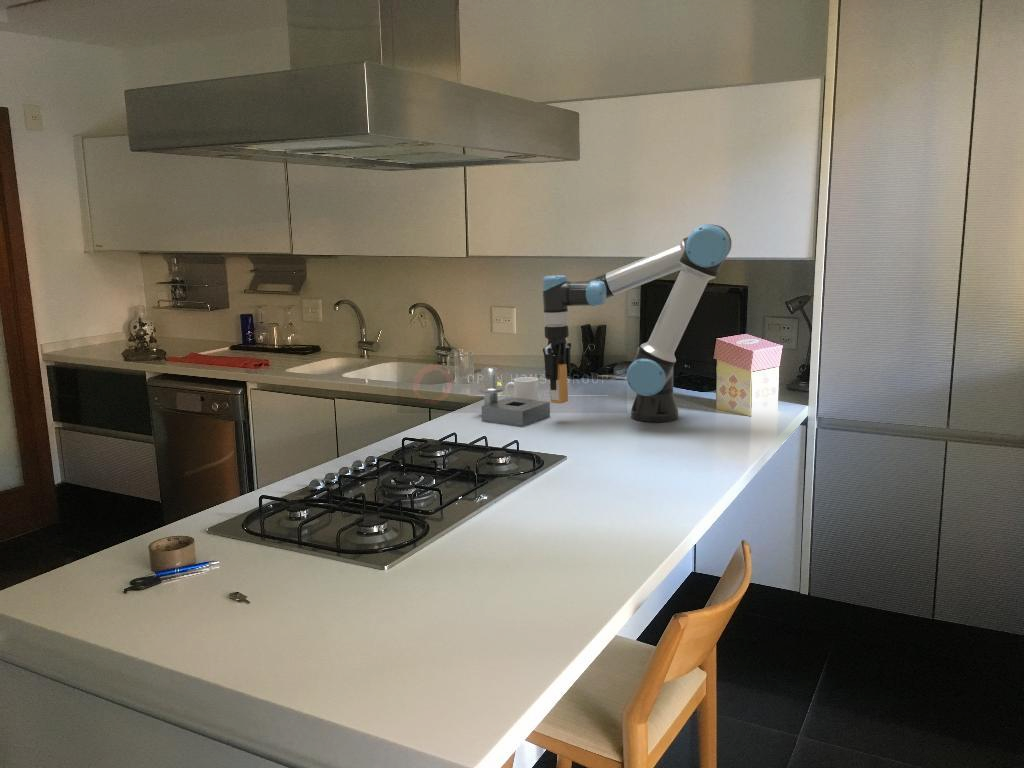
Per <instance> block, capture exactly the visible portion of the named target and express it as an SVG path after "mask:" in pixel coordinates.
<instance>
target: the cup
mask: <svg viewBox="0 0 1024 768" xmlns="http://www.w3.org/2000/svg"><path fill="white" fill-rule="evenodd" d="M511 386H512V387H514V388H513V389H514V391H513V392H514V394H513V395H514V397H513V398H521V399H529V400H538V401H540V400H539V397H540V396H539V378H537V377H532V376H524V377H523V376H521V377H516V378H514V380H513V381H509V382H508V383H507V384H506V385H505V389H504V395H505V398H509V397H510V396H509V388H510V387H511Z"/></svg>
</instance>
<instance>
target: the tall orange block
mask: <svg viewBox="0 0 1024 768" xmlns="http://www.w3.org/2000/svg"><path fill="white" fill-rule="evenodd" d="M567 370H568V369H567V364H558V373H557V379H558V380H559V396H560V400H551V399H550V404H563V403H567V402H569V394H568V393H569V392H568V391H569V390H568V388H569V387H568V377H567ZM550 387H551V386H550V385H549V392H550V394H549V395H550V397H551V388H550Z"/></svg>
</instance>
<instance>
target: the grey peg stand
mask: <svg viewBox="0 0 1024 768" xmlns="http://www.w3.org/2000/svg"><path fill="white" fill-rule="evenodd" d="M477 392H479V393H482V394H483V395H484V404H483V405H481V422H485V423H486V422H487V423H492V424H493V423H494V424H501V425H506V426H507V425H508V426H515V427H520V428H521V427H523V428H524V427H527V426H529V425H531V424H534V423H537V422H540V421H541V420H542V421H543V420H545V419H548V418H551V401H545V400H539V401H538V400H529V399H521V398H515V397H513V396H512V397H511V396H509V398H506V397H505V398H503V399H500V400H499V398H498V397H499V395H498V393H502V392H504V386H503V385H499V384H498V368H497V367H496V366H487V367H484V368H483V385H481V386H479V387H477Z"/></svg>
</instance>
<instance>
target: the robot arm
mask: <svg viewBox="0 0 1024 768" xmlns="http://www.w3.org/2000/svg"><path fill="white" fill-rule="evenodd" d="M731 249H732V238H731V235H730V233H729V232H728V231H727V230H726V228H724V227H723V226H721V225H719V224H718V225H717V224H710V223H709V224H702V225H700V226H698V227H696V228H695V229H693V230H692V231H691V232H690V233H689V235H688V236H687V237H685V238H682V239H681V241H680V243H678V244H675V245H672V246H671V247H668V248H666V249H663V250H661V251H659V252H656V253H653V254H651V255H648V256H645V257H644V258H641V259H638V260H635V261H633V262H630V263H629V264H627V265H623V266H621V267H618V268H616V269H614V270H610V271H608V272H606V273H604V274H600V275H598V276H596V277H593V278H590V279H588V280H583V281H569V280H568V279H567V276H566V275H559V274H557V275H556V274H555V275H546V276H544V277H543V278H542V290H541V291H542V301H543V318H544V319H543V322H544V325H545V326H544V337H545V338H546V339H547V347H543V348H542V353H543V359H544V372H545V379H546V380H549V389H550V388H551V396H550V401H551V400H560V396H559V380H558V379H557V373H558V364H567V378H569V377H570V376H571V373H572V372H571V371H572V370H571V363H572V362H571V348H572V343H571V342H567V340H566V338H568V337H569V334H570V333H569V332H570V331H569V325H568V324H569V311H568V307H573V306H574V307H575V306H576V307H577V306H578V307H579V306H583V307H585V306H588V307H589V306H591V307H596V306H603V305H605V302H606V300H607V299H608V298H611V297H614V296H615V295H618V294H621V293H623V292H626V291H628V290H631V289H633V288H637V287H640V286H642V285H645V284H647V283H650V282H652V281H654V280H658V279H660V278H662V277H665V276H668V275H670V274H673V273H676V272H679V271H680V272H679V273H678V276H677V278H676V280H675V282H674V284H673V285H672V289H671V291H670V293H669V295H668V298H667V299H666V302H665V303H664V306H663V308H662V310H661V312H660V314H659V316H658V318H657V321H656V323H655V325H654V328H653V330H652V331H651V334H650V337H649V338H648V340H647V342H644V343H642V344H640V346H639V347H637V349H636V355H635V357H634V359H633V361H632V362H631V363H630V365H629V366H628V368H627V370H626V381H627V385H628V387H629V388H630V389H631V391H633V392H634V393H636V394H635V398H634V401H633V404H632V407H631V410H630V417H631V419H633V420H635V421H640V422H645V423H646V422H648V423H665V422H666V423H667V422H672V421H676V420H677V419H679V409H678V406H677V403H676V400H675V396H674V366H675V364H676V362H677V359H676V356H675V352H676V350H677V348H678V346H679V344H680V342H681V340H682V337H683V335H684V333H685V331H686V329H687V327H688V324H690V323H689V322H690V320H691V318H692V316H693V315H694V312H695V310H696V308H697V306H698V304H699V302H700V300H701V297H702V295H703V293H704V291H705V289H706V287H707V285H708V283H709V282H710V281H711V280H714V279H716V278H717V277H718V276H717V275H718V273H719V272H720V270H721V267H722V265H723V263H724V261H725V259H726V258H727V257H728V255H729V254H730V252H731ZM550 386H551V387H550Z"/></svg>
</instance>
